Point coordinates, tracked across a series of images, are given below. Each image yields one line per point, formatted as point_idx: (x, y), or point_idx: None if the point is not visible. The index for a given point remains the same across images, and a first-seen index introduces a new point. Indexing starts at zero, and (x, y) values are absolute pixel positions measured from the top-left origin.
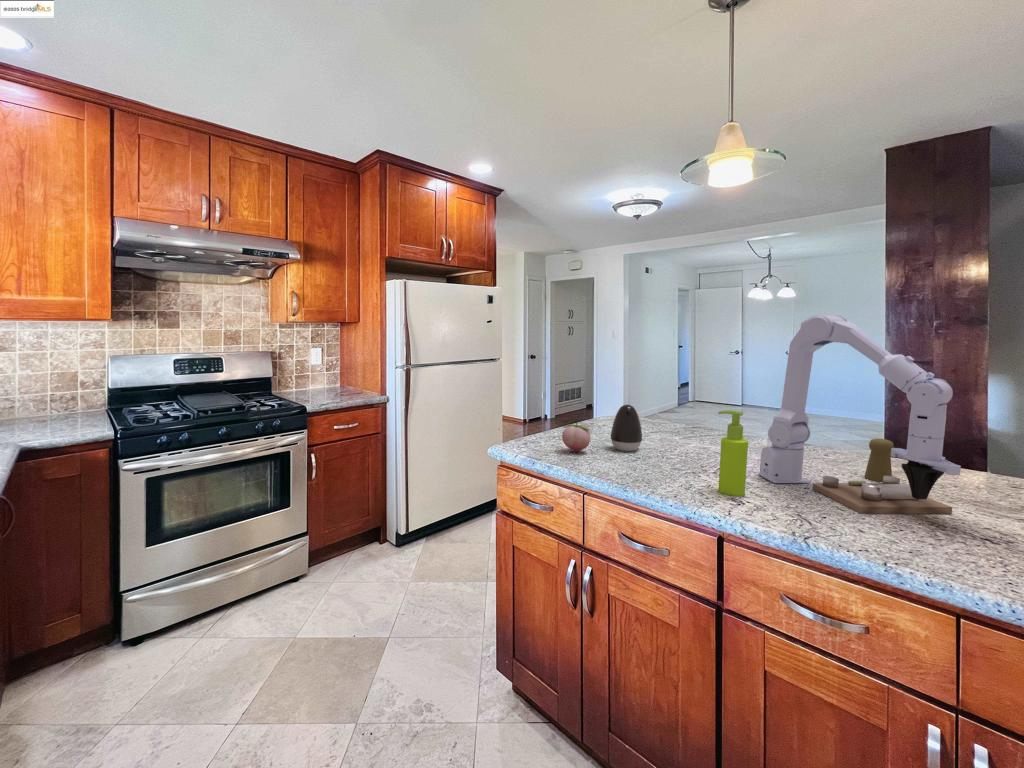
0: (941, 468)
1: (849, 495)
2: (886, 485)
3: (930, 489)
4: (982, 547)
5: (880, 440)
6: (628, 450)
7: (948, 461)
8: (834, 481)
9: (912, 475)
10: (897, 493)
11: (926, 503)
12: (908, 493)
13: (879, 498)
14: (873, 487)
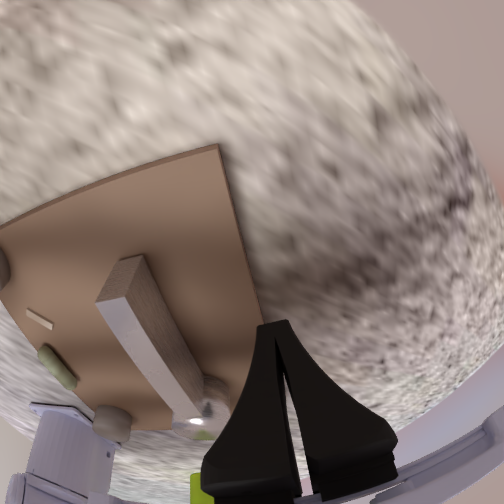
0: (443, 465)
1: None
2: (184, 405)
3: (307, 353)
4: (475, 250)
5: None
6: None
7: (461, 491)
8: (127, 432)
9: (294, 453)
10: (179, 354)
11: (191, 246)
12: (158, 317)
13: (223, 388)
14: None
